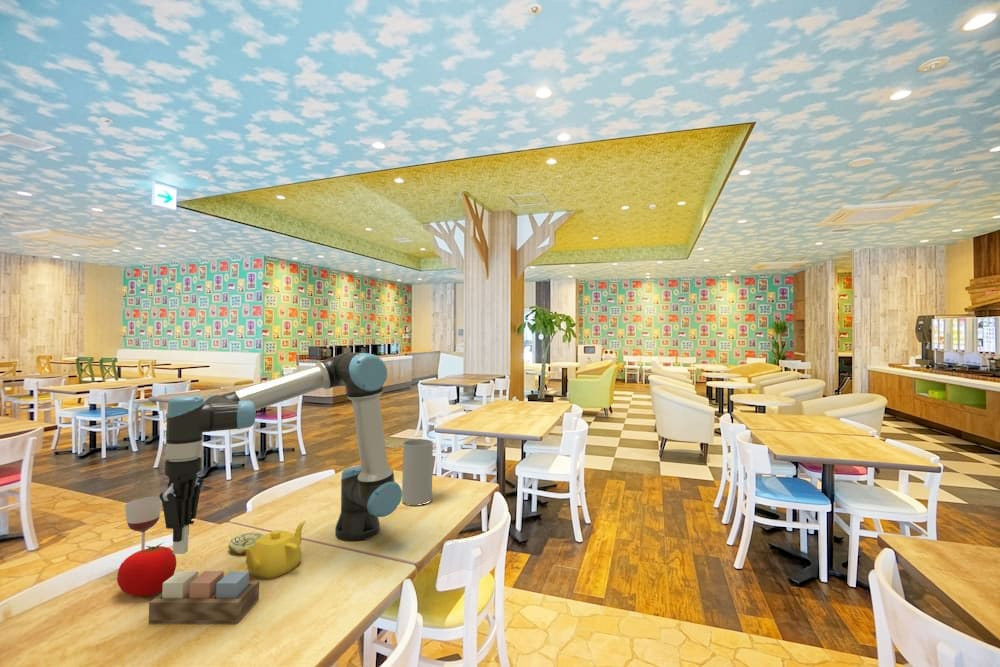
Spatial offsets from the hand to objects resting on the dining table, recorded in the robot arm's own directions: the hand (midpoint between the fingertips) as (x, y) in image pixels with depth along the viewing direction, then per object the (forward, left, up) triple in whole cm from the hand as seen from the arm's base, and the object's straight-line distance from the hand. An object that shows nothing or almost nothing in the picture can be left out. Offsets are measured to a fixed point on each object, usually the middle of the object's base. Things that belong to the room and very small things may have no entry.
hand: (180, 552), depth 113 cm
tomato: (+14, -9, -15) cm, 23 cm away
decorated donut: (+1, -34, -15) cm, 37 cm away
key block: (-7, 0, -15) cm, 16 cm away
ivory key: (0, 0, -11) cm, 11 cm away
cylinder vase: (-47, -78, -15) cm, 92 cm away
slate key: (-13, 0, -11) cm, 17 cm away
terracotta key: (-7, 0, -11) cm, 13 cm away
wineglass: (+24, -20, -15) cm, 35 cm away
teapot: (-15, -21, -15) cm, 30 cm away
